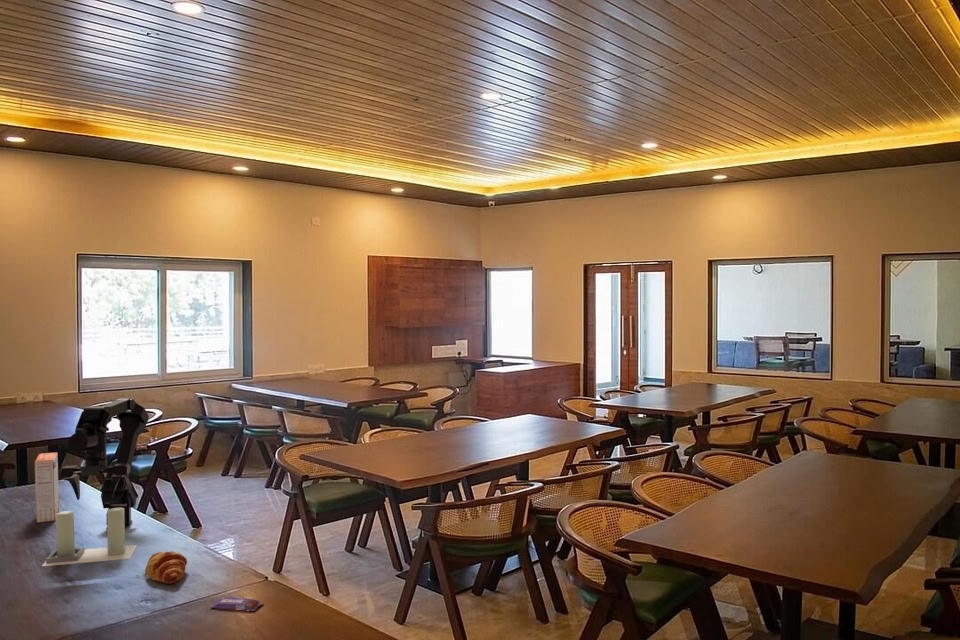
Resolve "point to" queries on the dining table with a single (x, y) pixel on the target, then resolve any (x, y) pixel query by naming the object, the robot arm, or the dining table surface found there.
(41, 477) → the cracker box
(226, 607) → the snack package
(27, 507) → the dining table surface
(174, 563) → the croissant
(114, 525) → the fixed pillar
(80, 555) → the base plate
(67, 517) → the pillar
